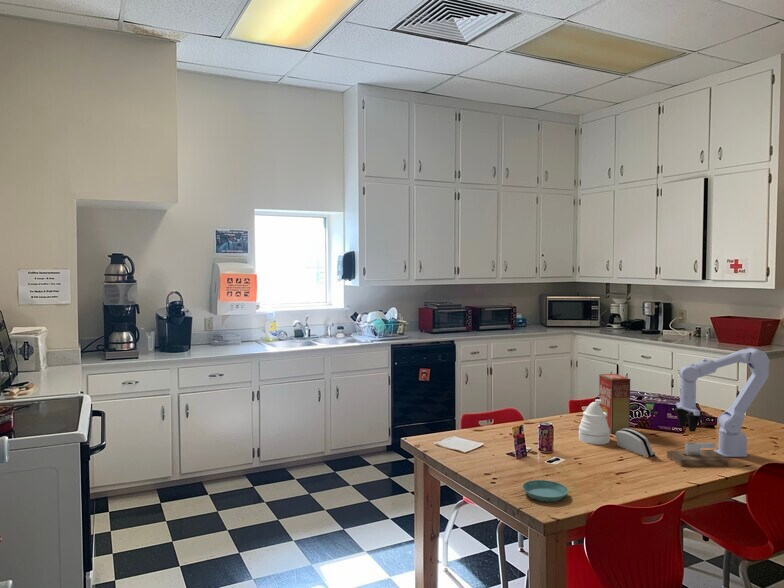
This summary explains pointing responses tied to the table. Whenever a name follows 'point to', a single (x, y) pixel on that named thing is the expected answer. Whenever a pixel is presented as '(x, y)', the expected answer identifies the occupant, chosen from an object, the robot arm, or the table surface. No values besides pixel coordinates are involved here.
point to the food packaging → (615, 400)
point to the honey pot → (594, 425)
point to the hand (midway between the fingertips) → (687, 428)
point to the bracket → (696, 448)
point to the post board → (698, 458)
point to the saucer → (545, 490)
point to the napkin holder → (634, 442)
